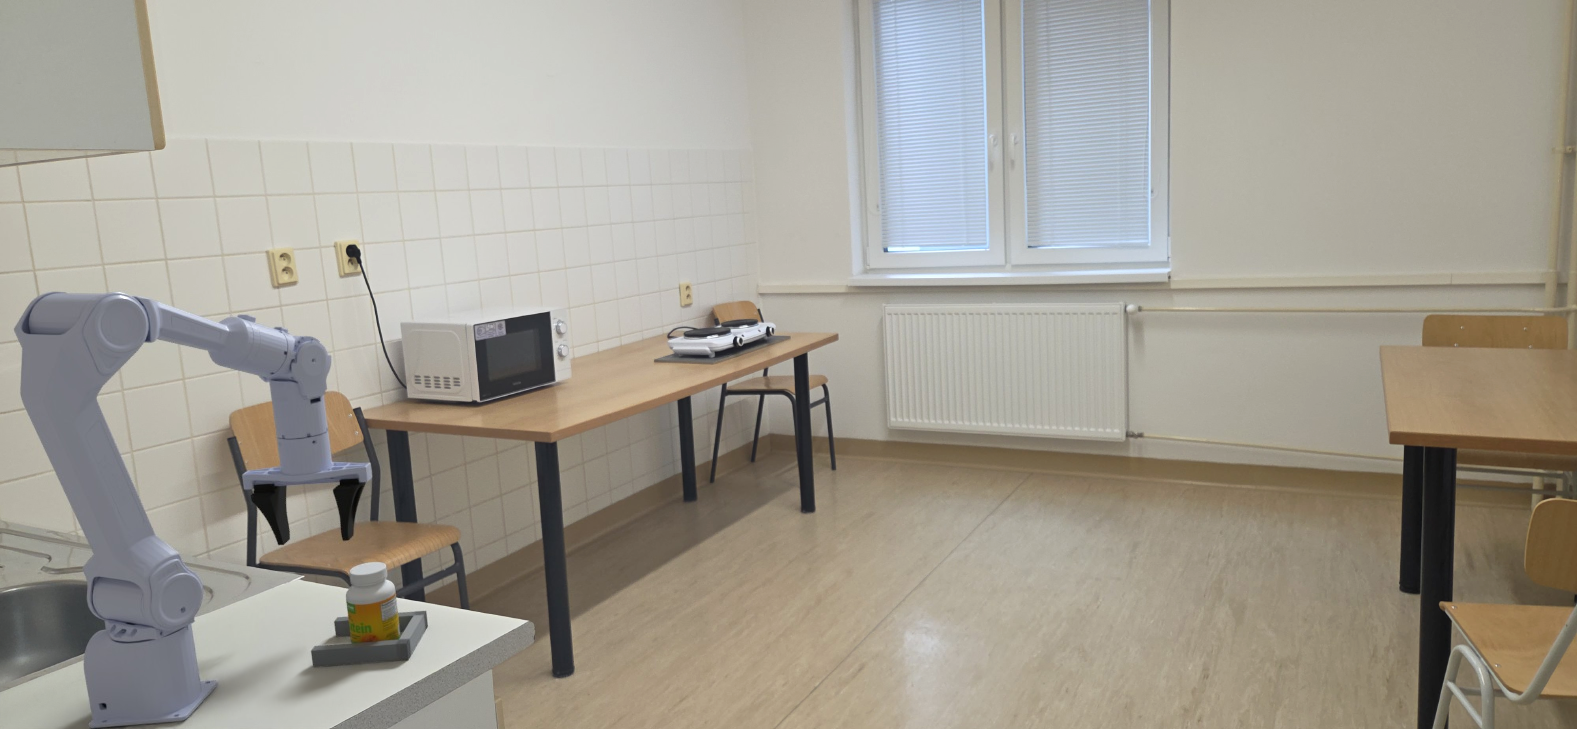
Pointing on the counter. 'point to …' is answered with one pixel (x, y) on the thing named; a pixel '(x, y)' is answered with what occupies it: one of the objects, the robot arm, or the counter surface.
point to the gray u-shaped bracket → (372, 644)
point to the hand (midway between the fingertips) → (316, 540)
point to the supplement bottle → (372, 604)
